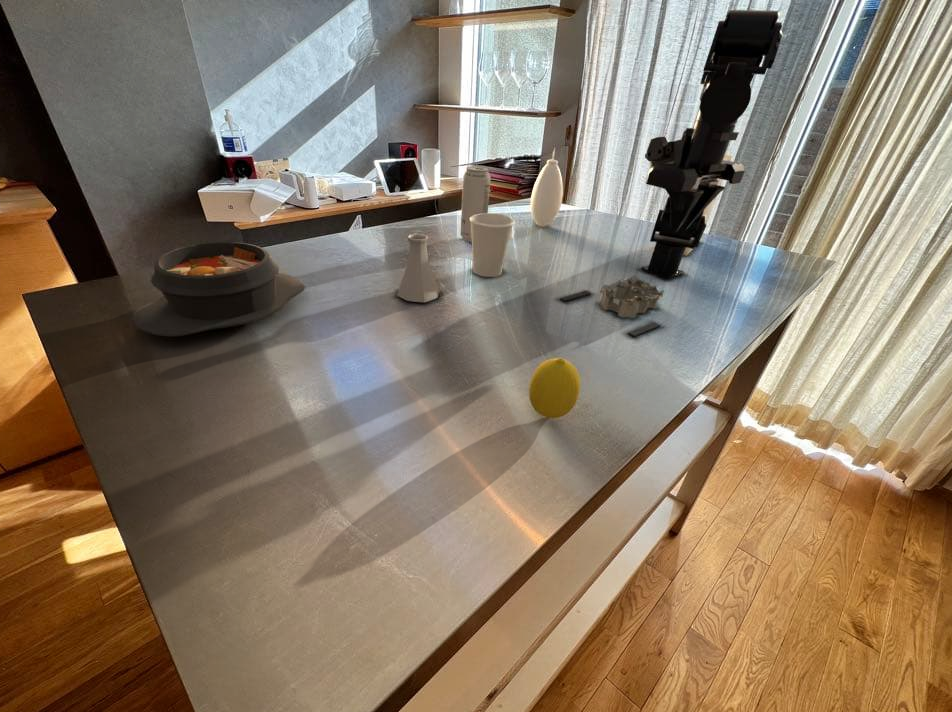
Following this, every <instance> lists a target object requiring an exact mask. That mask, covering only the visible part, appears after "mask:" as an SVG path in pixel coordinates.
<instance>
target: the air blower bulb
mask: <svg viewBox="0 0 952 712" xmlns="http://www.w3.org/2000/svg"><path fill="white" fill-rule="evenodd" d="M555 153H556V147H554V148H553V151H552V156H551V158H550V159H548V160H546V164H545V165H544V167H542V169H541V170H540V172H539V174H538V176H537V178H536V180H535V182H534V185H533V188H532V192H531V196H530V214H531V217H532V220H533V221H534V222H535V224H536V225H537V226H539V227H542V228H544V227H547V226H549V225H550V223H553V222H554V221H555V219H557V216H558V215H559V213H560V209H561V207H562V202H563V194H564V187H563V178H562V177H563V176H562V174H561V170H560V167H559V165H558V163H559V161H558V160H557V159H555Z"/></svg>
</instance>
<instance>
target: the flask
mask: <svg viewBox="0 0 952 712" xmlns="http://www.w3.org/2000/svg"><path fill="white" fill-rule="evenodd" d="M407 239H408V242H409V252H408V253H409V255H408V259H407V264H406V266H405V269H404V273H403V277H402V278H401V282H400V285H399V288H398V291H397V294H396V296H397V297H398V298H401V299H403V300H405V301H407V302H415V303H424V304H425V303H427V302H431V301H433V300H435V299H438V296H439V294H440V289H439V286H438V284H437V281H436V279H435V275H434V273H433V271H432V270H433V269H432V267H431V263H430V261H429V256H428V251H427V243H428V240H429V236H428V235H426V234H422V233H413V234H409V235H408V237H407Z"/></svg>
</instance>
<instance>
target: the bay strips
mask: <svg viewBox="0 0 952 712" xmlns="http://www.w3.org/2000/svg"><path fill="white" fill-rule="evenodd" d="M591 294H592V293H591V292H590V291H588V290H583V291H580V292H577V293H572V294H570V295H565V296H563V297H560V298H559V300H560V301H561V302H563V303H566V302H571V301H574V300H577V299H580V298H583V297H587V296H589V295H590V296H591ZM658 328H661V324H659V323H657V322H651V323H648V324H646V325H644V326H641V327H638V328H637V329H633V330H631V331H628V332H627V335H628V336H631V337H633V338H635V337H638V336H640V335H644V334H646V333H648V332H651V331H653V330H655V329H658Z"/></svg>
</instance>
